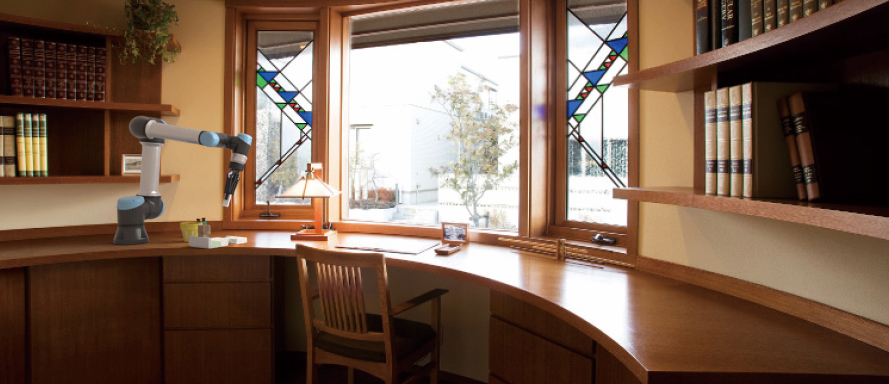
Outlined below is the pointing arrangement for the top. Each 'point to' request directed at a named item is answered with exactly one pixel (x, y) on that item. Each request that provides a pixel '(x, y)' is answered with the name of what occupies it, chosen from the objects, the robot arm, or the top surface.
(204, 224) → the binoculars
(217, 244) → the trap board
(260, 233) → the top surface
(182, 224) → the plant pot
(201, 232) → the walnut block
